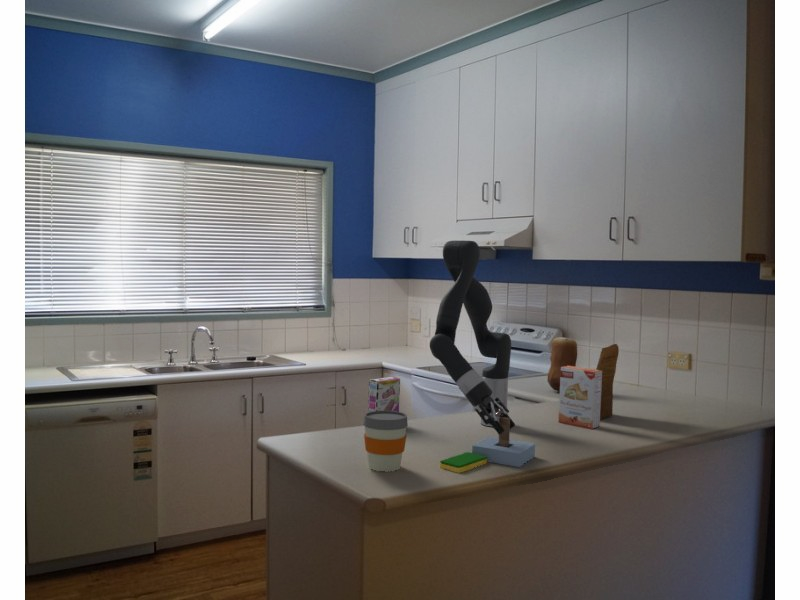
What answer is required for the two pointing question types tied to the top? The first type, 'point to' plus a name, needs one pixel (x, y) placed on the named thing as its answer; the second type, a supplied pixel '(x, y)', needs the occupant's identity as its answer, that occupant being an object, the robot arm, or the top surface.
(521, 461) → the hole block
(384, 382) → the candy bar box
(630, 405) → the top surface
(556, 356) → the butternut squash
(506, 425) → the walnut peg
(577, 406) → the cracker box
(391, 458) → the reusable coffee cup
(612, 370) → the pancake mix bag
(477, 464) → the dish sponge
